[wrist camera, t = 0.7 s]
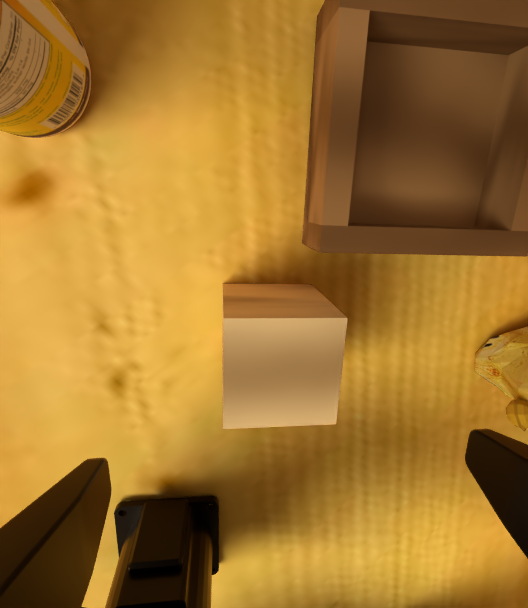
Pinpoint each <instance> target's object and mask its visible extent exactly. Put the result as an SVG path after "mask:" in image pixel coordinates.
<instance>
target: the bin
mask: <svg viewBox="0 0 528 608" xmlns="http://www.w3.org/2000/svg"><path fill="white" fill-rule="evenodd" d="M302 243H303V244H305V245H306V246H308V247H310V248H312V249H314V250H316V251H318V252H322V253H373V254H425V255H476V256H528V0H325V2H324V4H323V6H322V8H321V10H320V12H319V14H318V16H317V27H316V42H315V57H314V73H313V88H312V103H311V118H310V133H309V148H308V163H307V179H306V194H305V209H304V224H303V239H302Z"/></svg>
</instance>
